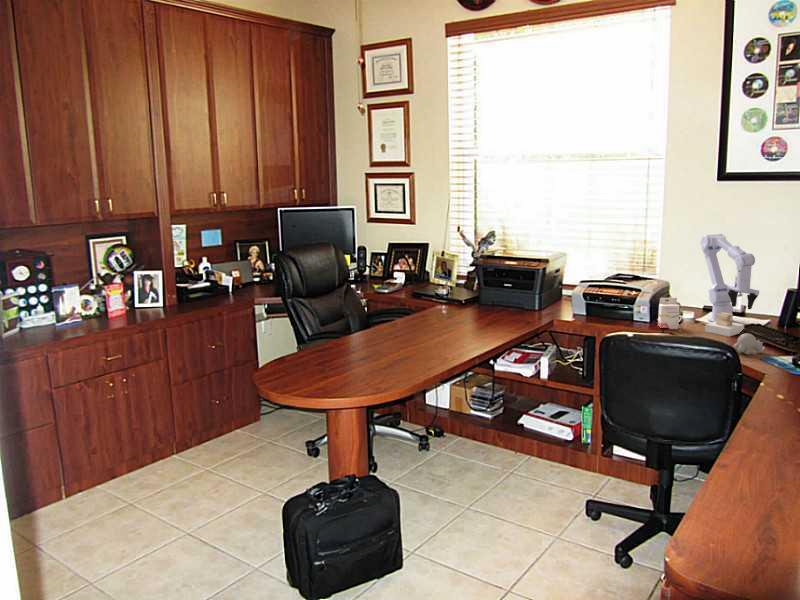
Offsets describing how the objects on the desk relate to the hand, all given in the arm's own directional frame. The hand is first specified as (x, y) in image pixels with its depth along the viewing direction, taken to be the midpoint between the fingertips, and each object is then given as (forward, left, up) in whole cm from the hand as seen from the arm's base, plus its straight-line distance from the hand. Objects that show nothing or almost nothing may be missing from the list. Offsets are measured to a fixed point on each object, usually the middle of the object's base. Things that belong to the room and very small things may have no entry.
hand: (741, 307), depth 317 cm
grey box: (+10, -2, -11) cm, 15 cm away
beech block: (+10, -2, -7) cm, 12 cm away
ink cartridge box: (+23, -23, -11) cm, 34 cm away
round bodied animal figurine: (+33, +23, -11) cm, 42 cm away
